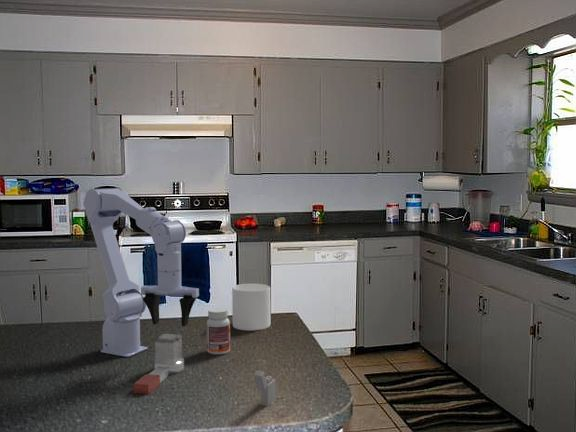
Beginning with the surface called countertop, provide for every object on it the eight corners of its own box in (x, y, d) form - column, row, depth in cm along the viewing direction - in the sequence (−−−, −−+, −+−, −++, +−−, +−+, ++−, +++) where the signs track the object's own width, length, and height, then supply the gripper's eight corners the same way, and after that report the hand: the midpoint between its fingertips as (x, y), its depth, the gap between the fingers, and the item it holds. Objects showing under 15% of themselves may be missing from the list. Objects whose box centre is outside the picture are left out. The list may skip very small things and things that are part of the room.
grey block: (155, 363, 141) (154, 339, 141) (164, 357, 146) (163, 333, 146) (174, 365, 140) (173, 340, 140) (182, 358, 145) (181, 334, 144)
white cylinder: (228, 329, 178) (227, 290, 177) (237, 319, 190) (237, 282, 189) (266, 331, 176) (266, 291, 175) (273, 321, 188) (273, 284, 187)
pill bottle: (234, 352, 157) (233, 310, 156) (213, 356, 153) (212, 313, 152) (223, 346, 162) (223, 305, 161) (203, 350, 158) (202, 309, 157)
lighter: (268, 397, 126) (268, 361, 126) (276, 398, 126) (275, 362, 125) (254, 410, 120) (253, 372, 119) (261, 411, 119) (261, 373, 118)
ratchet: (162, 363, 148) (161, 345, 147) (188, 365, 146) (188, 347, 146) (126, 392, 129) (125, 371, 129) (156, 394, 128) (155, 373, 127)
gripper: (134, 271, 143) (135, 326, 144) (191, 274, 140) (191, 330, 141) (147, 266, 150) (148, 319, 151) (201, 269, 147) (202, 322, 148)
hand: (170, 324), depth 147 cm, fingers open, 7 cm apart
